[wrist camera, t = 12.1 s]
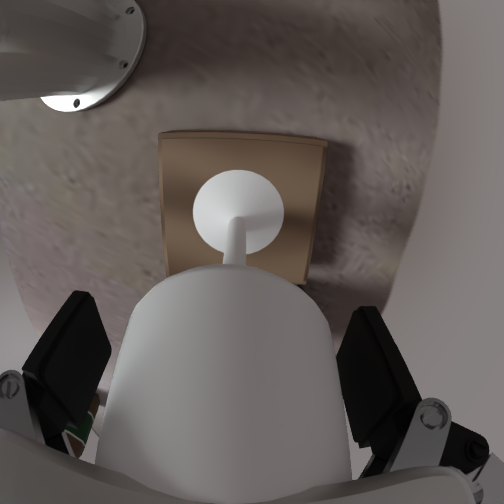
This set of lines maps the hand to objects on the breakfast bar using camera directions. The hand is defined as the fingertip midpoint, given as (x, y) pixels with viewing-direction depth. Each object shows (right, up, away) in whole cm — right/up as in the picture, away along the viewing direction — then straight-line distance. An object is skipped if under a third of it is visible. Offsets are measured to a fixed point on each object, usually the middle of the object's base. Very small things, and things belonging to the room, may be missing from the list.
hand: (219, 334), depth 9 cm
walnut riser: (0, +7, +14) cm, 16 cm away
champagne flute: (0, +6, +11) cm, 12 cm away
